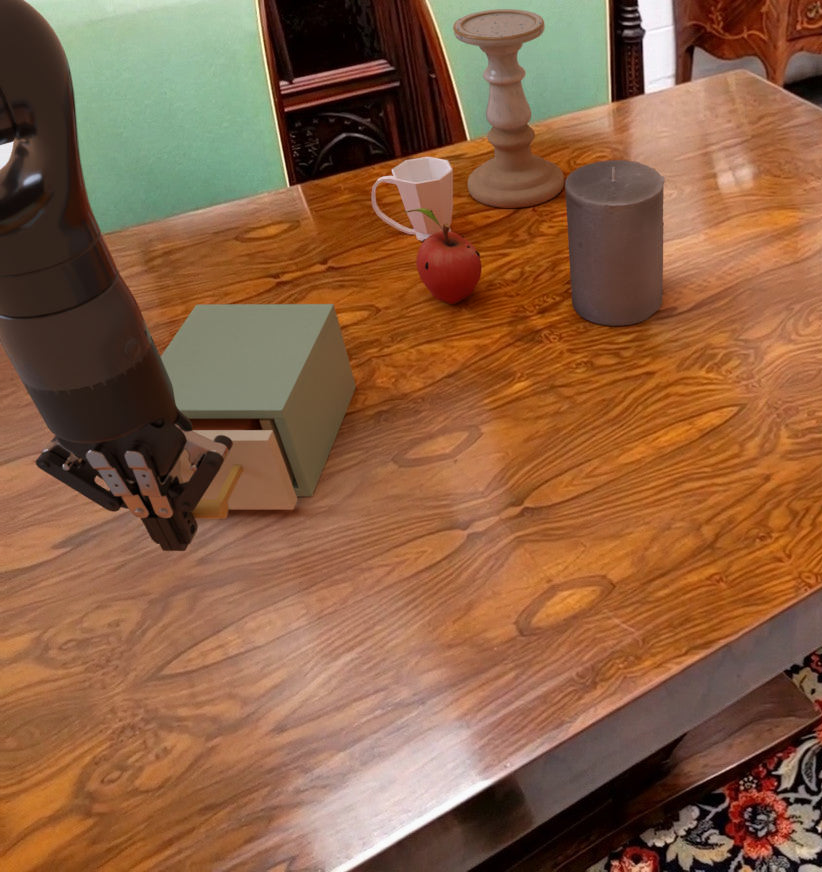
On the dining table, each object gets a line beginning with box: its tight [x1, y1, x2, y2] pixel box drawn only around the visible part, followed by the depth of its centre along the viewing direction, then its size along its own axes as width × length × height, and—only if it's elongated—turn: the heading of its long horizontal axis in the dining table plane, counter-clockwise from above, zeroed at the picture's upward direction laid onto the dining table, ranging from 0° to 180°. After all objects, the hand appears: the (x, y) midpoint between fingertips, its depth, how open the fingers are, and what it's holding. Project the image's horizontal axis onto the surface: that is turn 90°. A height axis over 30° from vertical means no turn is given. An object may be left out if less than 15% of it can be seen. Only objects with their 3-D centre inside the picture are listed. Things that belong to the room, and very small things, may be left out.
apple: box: [402, 208, 482, 305], centre depth 97 cm, size 8×7×10 cm
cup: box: [370, 156, 454, 242], centre depth 108 cm, size 7×10×8 cm
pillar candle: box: [564, 159, 666, 327], centre depth 94 cm, size 10×10×15 cm
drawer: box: [179, 419, 298, 520], centre depth 76 cm, size 19×11×7 cm, turn 179°
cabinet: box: [160, 303, 357, 497], centre depth 80 cm, size 15×12×9 cm
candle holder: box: [452, 8, 565, 209], centre depth 113 cm, size 12×12×20 cm
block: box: [189, 419, 263, 430], centre depth 76 cm, size 5×5×5 cm
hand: (179, 542), depth 68 cm, fingers closed
